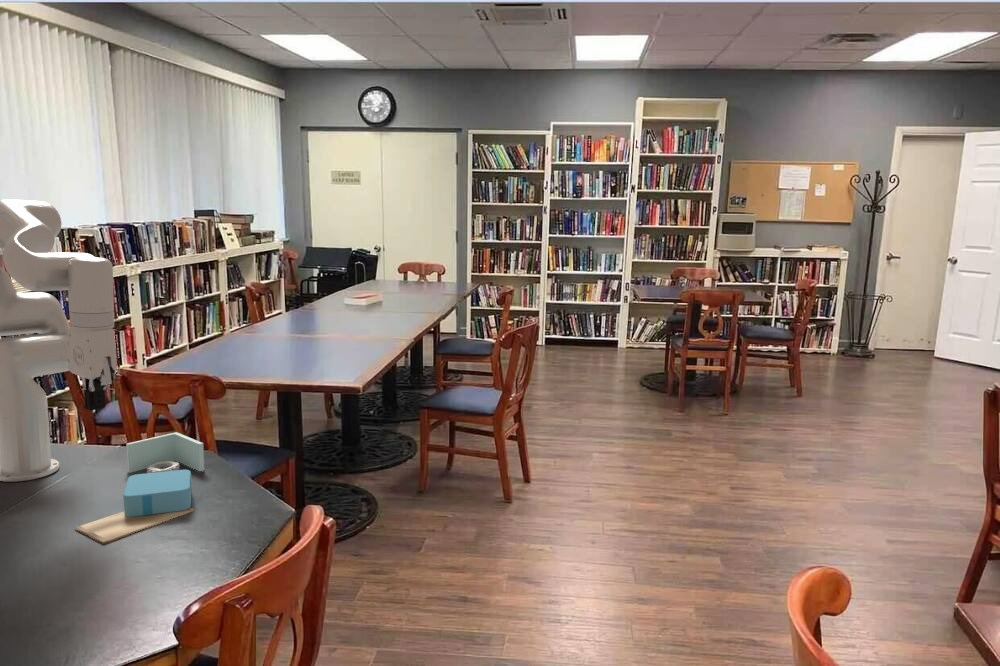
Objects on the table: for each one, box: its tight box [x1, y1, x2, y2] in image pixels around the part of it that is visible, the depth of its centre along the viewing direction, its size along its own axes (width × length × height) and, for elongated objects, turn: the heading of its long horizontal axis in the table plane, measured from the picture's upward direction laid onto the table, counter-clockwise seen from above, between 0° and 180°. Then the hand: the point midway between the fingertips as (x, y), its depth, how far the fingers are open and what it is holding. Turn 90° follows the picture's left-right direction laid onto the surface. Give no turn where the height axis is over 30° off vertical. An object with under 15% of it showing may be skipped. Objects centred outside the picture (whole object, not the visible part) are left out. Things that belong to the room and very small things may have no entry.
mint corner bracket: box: [125, 431, 205, 474], centre depth 156 cm, size 12×12×8 cm
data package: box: [122, 469, 192, 517], centre depth 138 cm, size 12×4×12 cm
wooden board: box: [74, 507, 194, 545], centre depth 131 cm, size 10×18×1 cm, turn 148°
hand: (95, 408), depth 135 cm, fingers closed
